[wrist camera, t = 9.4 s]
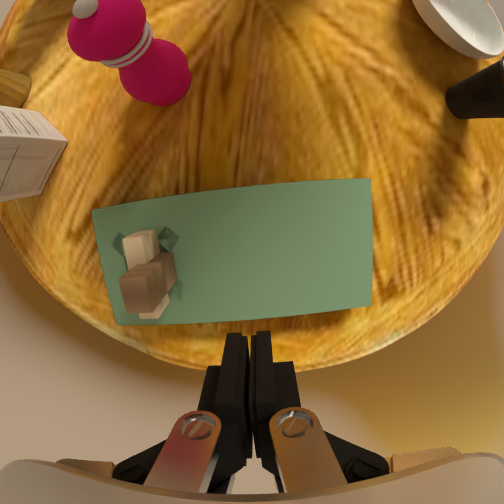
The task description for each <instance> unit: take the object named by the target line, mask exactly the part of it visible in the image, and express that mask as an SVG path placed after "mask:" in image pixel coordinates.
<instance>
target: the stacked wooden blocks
mask: <svg viewBox="0 0 504 504" xmlns="http://www.w3.org/2000/svg"><path fill="white" fill-rule="evenodd" d="M122 241H123V246H124V251H125V256H126V261H127V266H128V272H126V273H125V274H124V275H123V276H121V277H120V278H119V279H118V281H119V285H120V289H121V293H122V297H123V301H124V305H125V309H126V312H127V313H139V316H140V319H159V317H160V316H161V314H162V313H163V311H164V310H165V308H166V307H167V305H168V304H169V302H170V301H169V297H168V291H169V290H170V289H171V287H172V286H173V285H174V283H175V282H176V281H177V273H176V268H175V262H174V256H173V251H171V252H161V253H160V250H159V244H158V238H157V231H156V229H150V230H142V231H138V232H135V233H133V234H131V235H129V236H127V237H125V238H123V239H122Z"/></svg>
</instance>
